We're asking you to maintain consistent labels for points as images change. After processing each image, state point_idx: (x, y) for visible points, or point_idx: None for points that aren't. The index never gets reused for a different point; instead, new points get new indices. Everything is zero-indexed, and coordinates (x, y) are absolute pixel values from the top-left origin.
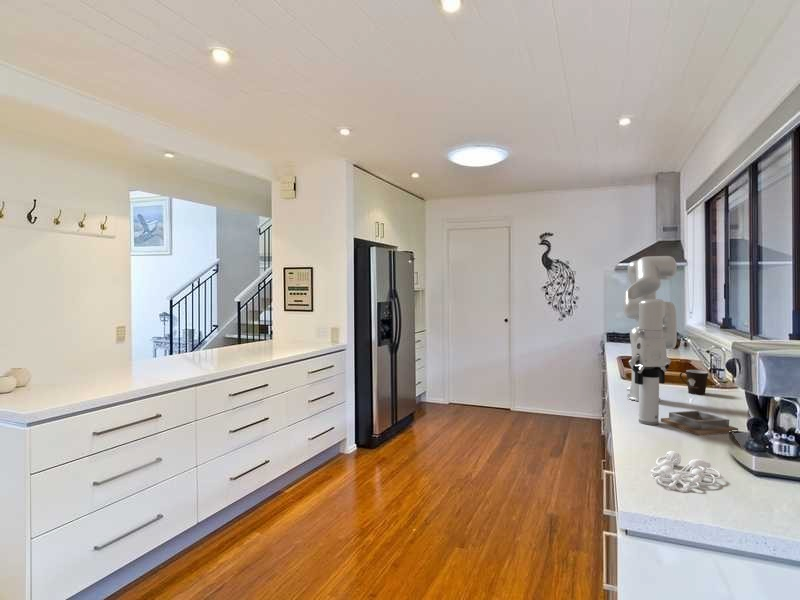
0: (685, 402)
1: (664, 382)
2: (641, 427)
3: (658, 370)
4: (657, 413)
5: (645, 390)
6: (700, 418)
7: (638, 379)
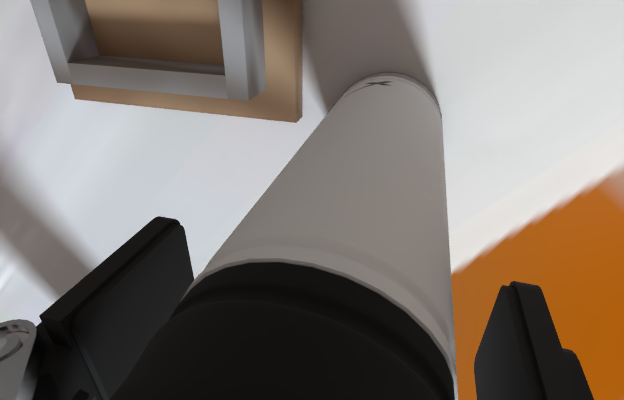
0: (22, 277)
1: (154, 219)
2: (532, 56)
3: (157, 375)
4: (361, 90)
5: (445, 221)
6: (90, 35)
7: (576, 375)
